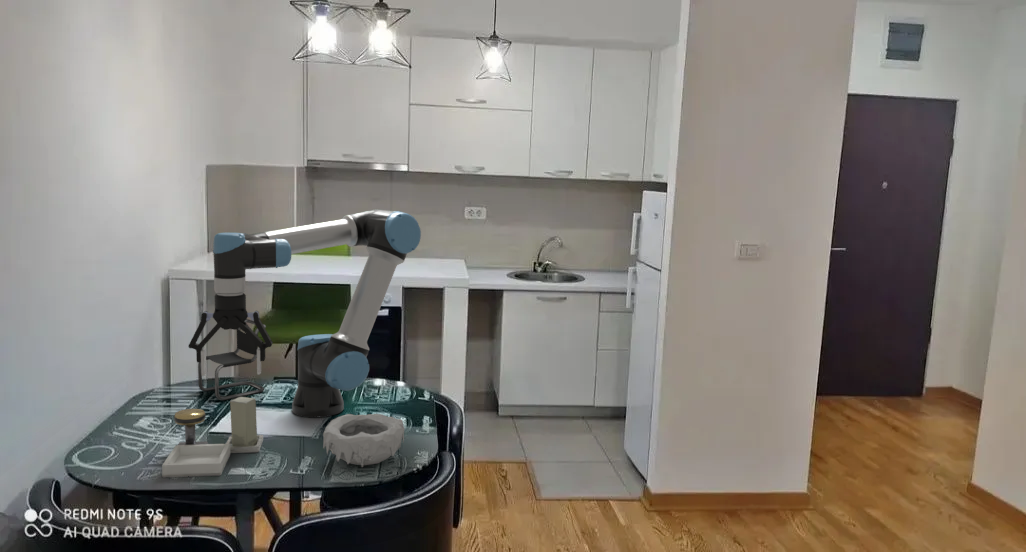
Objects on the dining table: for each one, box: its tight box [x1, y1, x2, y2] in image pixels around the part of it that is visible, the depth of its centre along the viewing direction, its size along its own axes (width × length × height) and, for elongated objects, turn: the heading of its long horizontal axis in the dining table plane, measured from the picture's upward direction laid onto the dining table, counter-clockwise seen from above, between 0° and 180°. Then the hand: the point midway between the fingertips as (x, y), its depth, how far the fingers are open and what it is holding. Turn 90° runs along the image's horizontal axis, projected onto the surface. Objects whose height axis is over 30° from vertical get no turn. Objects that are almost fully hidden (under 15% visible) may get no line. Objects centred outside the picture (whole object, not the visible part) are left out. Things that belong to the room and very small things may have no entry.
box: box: [229, 396, 258, 446], centre depth 199 cm, size 5×4×13 cm
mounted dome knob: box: [173, 408, 209, 445], centre depth 196 cm, size 7×7×10 cm
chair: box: [197, 318, 267, 401], centre depth 244 cm, size 13×17×22 cm
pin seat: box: [225, 434, 264, 454], centre depth 200 cm, size 8×8×2 cm
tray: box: [161, 443, 231, 478], centre depth 187 cm, size 13×13×3 cm
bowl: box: [322, 413, 405, 468], centre depth 194 cm, size 21×20×10 cm
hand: (231, 373), depth 198 cm, fingers open, 13 cm apart
